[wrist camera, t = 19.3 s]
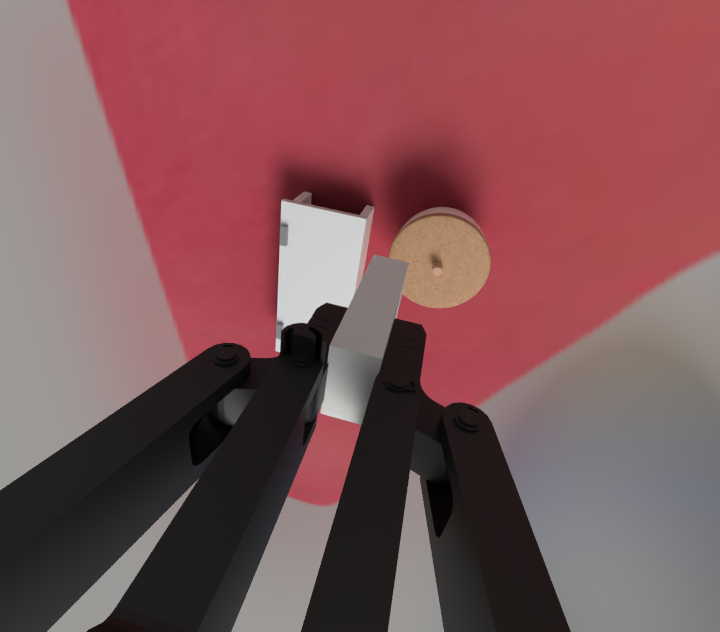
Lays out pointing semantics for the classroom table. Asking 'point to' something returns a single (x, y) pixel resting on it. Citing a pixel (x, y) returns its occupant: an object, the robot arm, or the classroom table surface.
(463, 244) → the lidded jar
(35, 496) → the robot arm
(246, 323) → the classroom table surface
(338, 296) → the cover
